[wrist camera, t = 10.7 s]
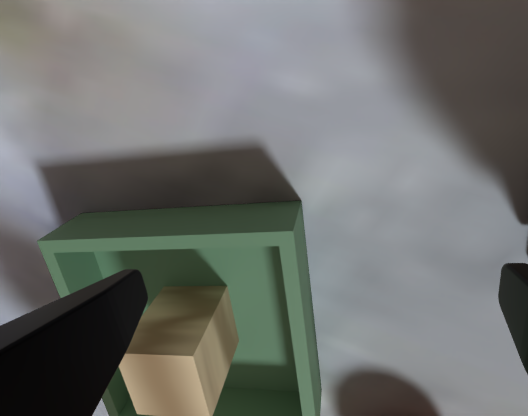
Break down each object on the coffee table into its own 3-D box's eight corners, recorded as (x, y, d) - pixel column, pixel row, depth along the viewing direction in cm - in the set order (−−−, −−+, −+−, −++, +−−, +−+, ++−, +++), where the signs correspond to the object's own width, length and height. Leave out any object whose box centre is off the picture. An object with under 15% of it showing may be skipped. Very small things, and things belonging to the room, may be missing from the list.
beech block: (227, 285, 23) (193, 356, 18) (239, 340, 25) (211, 420, 20) (163, 286, 24) (113, 353, 19) (179, 339, 26) (137, 414, 21)
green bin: (301, 200, 21) (293, 231, 18) (321, 389, 27) (318, 442, 23) (81, 213, 25) (36, 241, 21) (139, 378, 30) (112, 422, 27)
